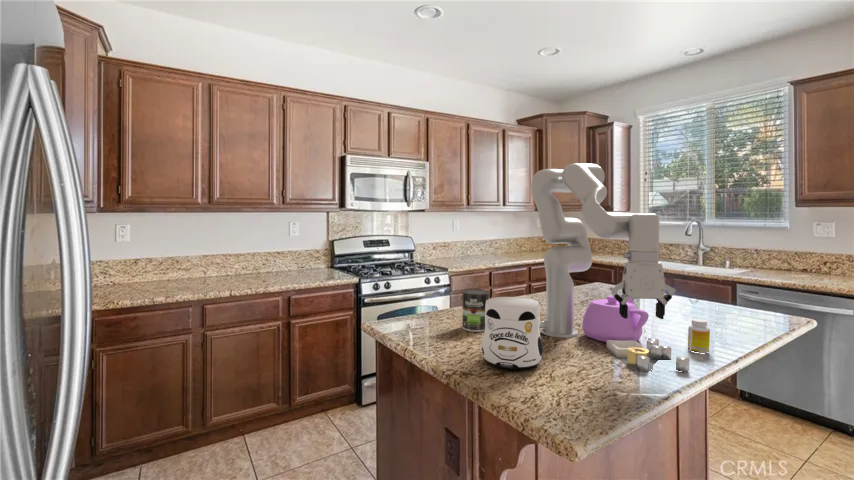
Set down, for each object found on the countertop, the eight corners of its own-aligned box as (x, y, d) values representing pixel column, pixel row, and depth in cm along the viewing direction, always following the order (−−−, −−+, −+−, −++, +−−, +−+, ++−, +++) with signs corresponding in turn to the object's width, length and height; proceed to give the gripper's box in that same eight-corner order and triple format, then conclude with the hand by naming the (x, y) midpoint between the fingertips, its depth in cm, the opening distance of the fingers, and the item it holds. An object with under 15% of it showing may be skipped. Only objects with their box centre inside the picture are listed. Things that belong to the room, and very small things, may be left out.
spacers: (639, 371, 111) (639, 359, 111) (611, 347, 131) (612, 337, 131) (691, 373, 110) (691, 360, 110) (655, 348, 130) (656, 338, 130)
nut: (630, 366, 115) (630, 352, 115) (624, 360, 120) (625, 346, 120) (652, 367, 114) (652, 353, 114) (645, 361, 119) (646, 347, 119)
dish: (617, 357, 123) (617, 349, 123) (606, 347, 132) (606, 340, 132) (648, 357, 122) (648, 349, 122) (635, 347, 131) (635, 340, 131)
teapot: (633, 354, 126) (634, 306, 126) (574, 337, 144) (575, 295, 143) (670, 341, 139) (671, 297, 138) (612, 327, 157) (613, 288, 156)
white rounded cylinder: (497, 377, 109) (498, 310, 107) (472, 356, 125) (472, 297, 124) (554, 370, 113) (555, 306, 112) (523, 350, 130) (523, 294, 129)
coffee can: (487, 333, 149) (487, 294, 149) (459, 330, 152) (459, 293, 152) (491, 325, 159) (491, 289, 158) (465, 323, 162) (465, 288, 161)
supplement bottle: (713, 355, 125) (714, 322, 124) (695, 355, 125) (697, 322, 124) (700, 349, 130) (701, 317, 130) (683, 349, 130) (684, 318, 130)
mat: (632, 372, 112) (632, 370, 112) (606, 348, 132) (606, 347, 132) (690, 373, 111) (690, 372, 111) (655, 349, 130) (655, 348, 130)
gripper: (616, 258, 112) (615, 320, 113) (682, 258, 110) (680, 321, 111) (606, 256, 119) (605, 314, 120) (668, 256, 118) (666, 315, 119)
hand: (641, 317), depth 116 cm, fingers open, 9 cm apart
